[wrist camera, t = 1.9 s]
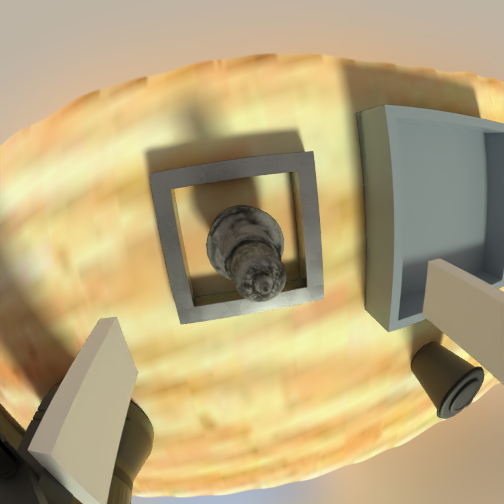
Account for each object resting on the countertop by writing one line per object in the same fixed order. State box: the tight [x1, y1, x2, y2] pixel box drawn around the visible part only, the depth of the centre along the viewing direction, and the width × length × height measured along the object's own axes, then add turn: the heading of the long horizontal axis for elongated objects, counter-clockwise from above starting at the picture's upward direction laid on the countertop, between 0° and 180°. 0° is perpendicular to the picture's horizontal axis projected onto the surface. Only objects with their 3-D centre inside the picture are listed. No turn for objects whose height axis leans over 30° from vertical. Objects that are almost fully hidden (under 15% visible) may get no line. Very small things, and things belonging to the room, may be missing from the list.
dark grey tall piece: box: [206, 205, 286, 302], centre depth 20 cm, size 6×6×12 cm
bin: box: [356, 105, 504, 332], centre depth 25 cm, size 20×20×5 cm
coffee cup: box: [411, 342, 484, 419], centre depth 29 cm, size 8×8×10 cm
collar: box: [149, 151, 324, 324], centre depth 25 cm, size 13×13×2 cm
